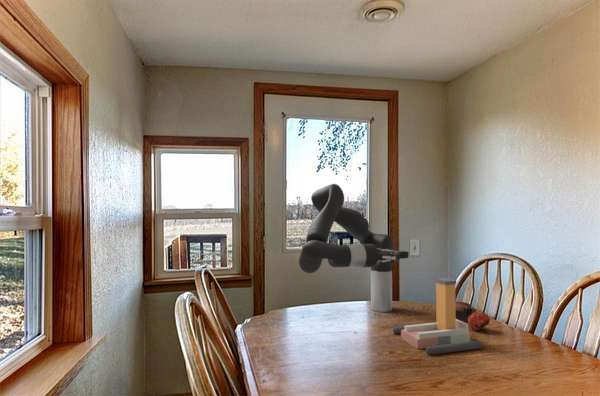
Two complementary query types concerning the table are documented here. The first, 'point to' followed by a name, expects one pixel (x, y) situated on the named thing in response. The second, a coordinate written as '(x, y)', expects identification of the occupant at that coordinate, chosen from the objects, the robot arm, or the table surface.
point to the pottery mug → (463, 311)
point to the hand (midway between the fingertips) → (407, 254)
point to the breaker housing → (434, 334)
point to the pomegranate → (478, 320)
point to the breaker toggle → (445, 303)
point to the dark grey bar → (453, 347)
